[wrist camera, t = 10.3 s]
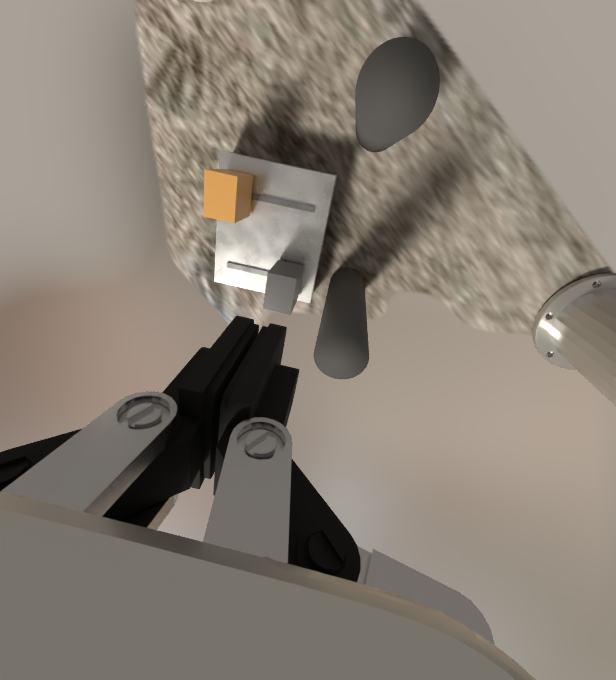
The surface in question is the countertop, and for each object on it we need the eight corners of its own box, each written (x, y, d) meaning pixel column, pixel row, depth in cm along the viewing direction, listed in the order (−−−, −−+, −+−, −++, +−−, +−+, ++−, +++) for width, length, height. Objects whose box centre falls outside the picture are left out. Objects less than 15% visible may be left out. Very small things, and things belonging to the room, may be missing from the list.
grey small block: (303, 265, 36) (296, 278, 32) (298, 297, 38) (290, 314, 34) (278, 259, 36) (267, 272, 32) (273, 292, 38) (263, 308, 34)
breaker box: (337, 174, 36) (335, 175, 32) (313, 291, 42) (309, 303, 39) (233, 152, 36) (218, 150, 32) (225, 272, 43) (213, 282, 39)
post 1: (368, 271, 40) (375, 339, 24) (359, 303, 42) (360, 384, 27) (334, 263, 40) (319, 326, 25) (326, 296, 42) (309, 372, 27)
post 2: (405, 105, 32) (453, 46, 16) (391, 156, 34) (422, 146, 18) (362, 96, 32) (367, 28, 16) (351, 147, 34) (346, 130, 18)
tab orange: (253, 175, 33) (237, 176, 28) (249, 216, 35) (234, 223, 30) (224, 168, 33) (204, 169, 28) (222, 210, 35) (203, 216, 30)
